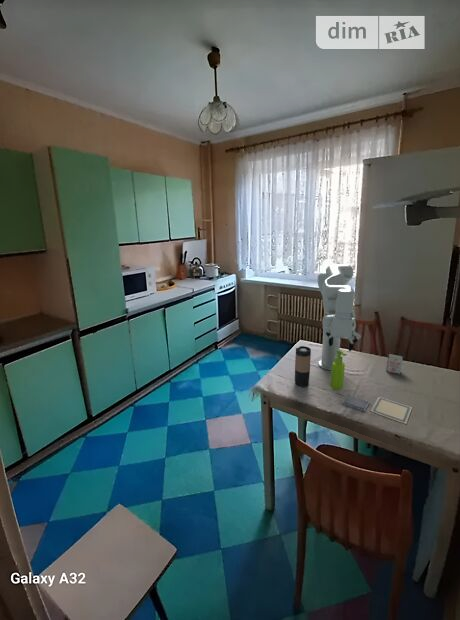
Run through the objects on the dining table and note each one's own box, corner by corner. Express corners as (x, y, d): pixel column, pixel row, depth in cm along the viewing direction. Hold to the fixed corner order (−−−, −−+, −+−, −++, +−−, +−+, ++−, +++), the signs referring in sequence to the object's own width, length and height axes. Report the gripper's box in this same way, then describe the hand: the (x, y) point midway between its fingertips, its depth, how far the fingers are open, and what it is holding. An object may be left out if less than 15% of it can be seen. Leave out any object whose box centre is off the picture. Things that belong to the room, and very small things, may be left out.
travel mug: (309, 388, 149) (311, 352, 143) (294, 386, 151) (295, 351, 145) (308, 380, 156) (310, 346, 151) (294, 379, 158) (295, 345, 152)
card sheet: (378, 397, 140) (378, 396, 140) (412, 407, 131) (412, 407, 131) (370, 411, 130) (370, 410, 130) (406, 424, 121) (406, 423, 121)
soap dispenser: (338, 391, 145) (341, 355, 140) (328, 385, 151) (330, 350, 145) (346, 388, 148) (350, 352, 142) (336, 382, 154) (339, 347, 148)
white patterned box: (386, 368, 166) (389, 352, 163) (400, 371, 162) (403, 355, 159) (385, 371, 163) (388, 355, 160) (399, 374, 159) (402, 358, 156)
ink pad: (347, 396, 142) (347, 393, 141) (369, 403, 135) (369, 401, 135) (341, 403, 136) (342, 401, 135) (364, 412, 130) (364, 409, 129)
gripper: (365, 316, 135) (361, 349, 140) (328, 309, 146) (326, 341, 151) (360, 320, 130) (356, 355, 135) (322, 313, 141) (320, 346, 146)
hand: (340, 347), depth 143 cm, fingers open, 9 cm apart
